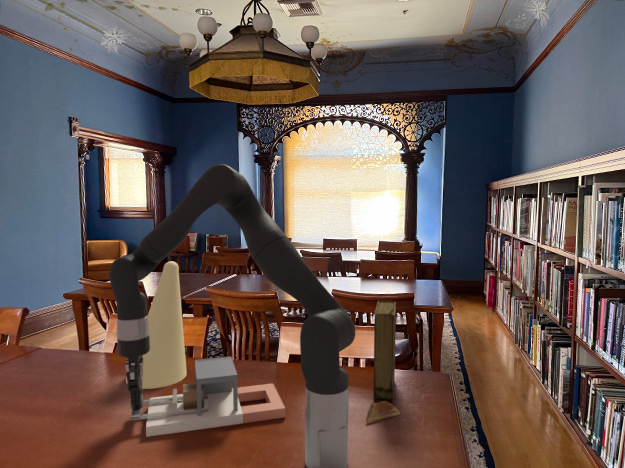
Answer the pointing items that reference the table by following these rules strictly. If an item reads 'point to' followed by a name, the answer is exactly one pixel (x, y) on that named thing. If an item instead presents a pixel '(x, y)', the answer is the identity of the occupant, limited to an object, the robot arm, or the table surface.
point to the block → (191, 396)
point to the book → (384, 350)
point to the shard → (381, 411)
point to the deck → (217, 411)
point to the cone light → (165, 333)
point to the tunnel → (216, 378)
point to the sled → (137, 408)
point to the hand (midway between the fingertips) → (136, 400)
